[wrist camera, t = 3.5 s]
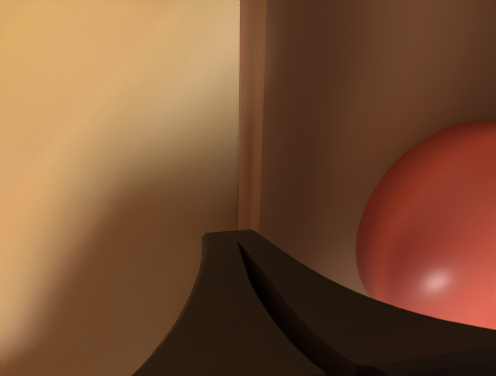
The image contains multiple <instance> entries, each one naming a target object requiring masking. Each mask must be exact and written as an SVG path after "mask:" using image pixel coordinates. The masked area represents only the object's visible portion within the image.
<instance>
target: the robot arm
mask: <svg viewBox="0 0 496 376" xmlns="http://www.w3.org/2000/svg"><path fill="white" fill-rule="evenodd" d="M132 376H496V330H494V329H489V328H484V327H479V326H473V325H468V324H463V323H458V322H452V321H447V320H443V319H438V318H435V317H431V316H427V315H423V314H419V313H416V312H412V311H409V310H405V309H402V308H399V307H396V306H393V305H390V304H387V303H384V302H381V301H379V300H376V299H373V298H370V297H368V296H365V295H363V294H360V293H358V292H355V291H353V290H351V289H349V288H347V287H345V286H342V285H340V284H338V283H336V282H334V281H332V280H330V279H328V278H326V277H324V276H322V275H321V274H319V273H317V272H316V271H314V270H312V269H310V268H309V267H307V266H305V265H304V264H302V263H300V262H299V261H297V260H296V259H294V258H293V257H291V256H290V255H288V254H287V253H285V252H284V251H282V250H281V249H279V248H278V247H277V246H275V245H274V244H272V243H271V242H270V241H268V240H267V239H265V238H264V237H263V236H261V235H260V234H258V233H257V232H255V231H254V230H252V229H248V230H237V231H225V232H214V233H206V234H205V235H204V236H203V237H202V262H201V266H200V270H199V273H198V276H197V279H196V282H195V284H194V287H193V290H192V292H191V294H190V297H189V299H188V301H187V303H186V305H185V307H184V309H183V311H182V312H181V314H180V316H179V318H178V319H177V321H176V322H175V324H174V325H173V327H172V329H171V330H170V332H169V333H168V334H167V336H166V337H165V339H164V340H163V341H162V342H161V344H160V345H159V346H158V347H157V349H156V350H155V351H154V352H153V353H152V355H151V356H150V357H149V358H148V359H147V361H146V362H145V363H144V364H143V365H142V366H141V367H140V368H139V369H138V370H137V371H136V372H135V373H134V374H133V375H132Z"/></svg>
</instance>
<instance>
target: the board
mask: <svg viewBox="0 0 496 376" xmlns="http://www.w3.org/2000/svg"><path fill="white" fill-rule="evenodd" d="M478 120H496V0H240V75H239V169H238V230H248V229H252V230H254V231H255V232H257V233H258V234H260V235H261V236H263V237H264V238H265V239H267V240H268V241H270V242H271V243H272V244H274V245H275V246H277V247H278V248H279V249H281V250H282V251H284V252H285V253H287V254H288V255H290V256H291V257H293V258H294V259H296V260H297V261H299V262H300V263H302V264H304V265H305V266H307V267H309V268H310V269H312V270H314V271H316V272H317V273H319V274H321V275H322V276H324V277H326V278H328V279H330V280H332V281H334V282H336V283H338V284H340V285H342V286H345V287H347V288H349V289H351V290H353V291H355V292H358V293H360V294H363V295H365V296H368V297H370V295H369V294H368V292H367V291H366V289H365V288H364V286H363V283H362V281H361V279H360V276H359V272H358V268H357V263H356V238H357V233H358V228H359V224H360V220H361V217H362V214H363V211H364V209H365V207H366V205H367V202H368V200H369V198H370V196H371V195H372V193H373V191H374V190H375V188H376V186H377V185H378V183H379V182H380V180H381V179H382V178H383V176H384V175H385V174H386V173H387V171H388V170H389V169H390V168H391V167H392V166H393V165H394V164H395V163H396V162H397V160H398V159H399V158H401V157H402V156H403V155H404V154H405V153H406V152H408V151H409V150H410V149H411V148H412V147H414V146H415V145H417V144H418V143H420V142H421V141H422V140H424V139H425V138H427V137H429V136H431V135H433V134H435V133H437V132H438V131H441V130H443V129H446V128H448V127H451V126H453V125H457V124H461V123H465V122H469V121H478ZM370 298H371V297H370Z"/></svg>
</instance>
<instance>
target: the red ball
mask: <svg viewBox="0 0 496 376" xmlns="http://www.w3.org/2000/svg"><path fill="white" fill-rule="evenodd" d="M356 263H357V268H358V272H359V276H360V279H361V281H362V283H363V286H364V288H365V289H366V291H367V292H368V294H369V295H370V297H371V298H373V299H376V300H379V301H381V302H384V303H387V304H390V305H393V306H396V307H399V308H402V309H405V310H409V311H412V312H416V313H419V314H423V315H427V316H431V317H435V318H438V319H443V320H447V321H452V322H458V323H463V324H468V325H473V326H479V327H484V328H489V329H494V330H496V120H478V121H469V122H465V123H461V124H457V125H453V126H451V127H448V128H446V129H443V130H441V131H438V132H437V133H435V134H433V135H431V136H429V137H427V138H425V139H424V140H422V141H421V142H420V143H418V144H417V145H415V146H414V147H412V148H411V149H410V150H409V151H408V152H406V153H405V154H404V155H403V156H402V157H401V158H399V159H398V160H397V162H396V163H395V164H394V165H393V166H392V167H391V168H390V169H389V170H388V171H387V173H386V174H385V175H384V176H383V178H382V179H381V180H380V182H379V183H378V185H377V186H376V188H375V190H374V191H373V193H372V195H371V196H370V198H369V200H368V202H367V205H366V207H365V209H364V211H363V214H362V217H361V220H360V224H359V228H358V233H357V238H356Z"/></svg>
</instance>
